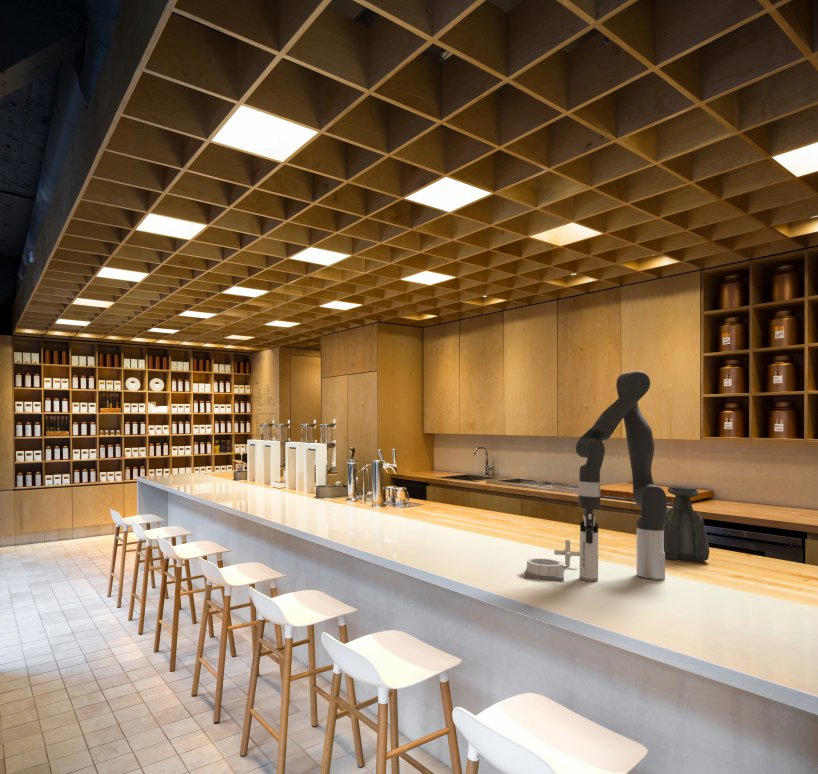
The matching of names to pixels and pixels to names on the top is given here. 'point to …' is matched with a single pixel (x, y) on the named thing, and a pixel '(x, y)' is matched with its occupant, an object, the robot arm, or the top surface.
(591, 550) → the travel mug
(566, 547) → the pipe connector
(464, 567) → the top surface
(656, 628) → the top surface
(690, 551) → the dark grey ribbed vase
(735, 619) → the top surface
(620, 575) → the top surface
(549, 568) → the duct collar
